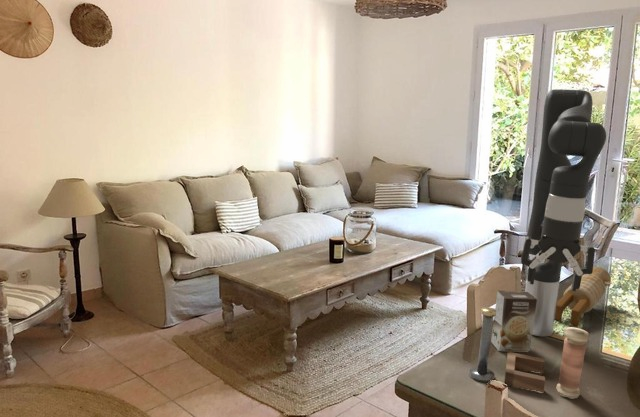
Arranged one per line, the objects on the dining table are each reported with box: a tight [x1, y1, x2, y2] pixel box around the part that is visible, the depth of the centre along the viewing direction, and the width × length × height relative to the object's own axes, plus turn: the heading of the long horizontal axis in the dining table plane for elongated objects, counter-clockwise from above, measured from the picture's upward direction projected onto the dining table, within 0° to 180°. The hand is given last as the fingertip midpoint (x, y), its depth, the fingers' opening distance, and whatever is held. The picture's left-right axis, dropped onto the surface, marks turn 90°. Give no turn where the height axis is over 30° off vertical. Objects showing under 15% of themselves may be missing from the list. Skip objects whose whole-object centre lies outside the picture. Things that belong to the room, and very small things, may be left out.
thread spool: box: [555, 326, 590, 397], centre depth 123 cm, size 5×5×16 cm
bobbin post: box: [469, 306, 496, 383], centre depth 129 cm, size 6×6×18 cm
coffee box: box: [490, 290, 537, 353], centre depth 146 cm, size 9×6×16 cm
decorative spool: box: [554, 266, 612, 327], centre depth 175 cm, size 10×12×30 cm
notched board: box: [503, 351, 546, 393], centre depth 130 cm, size 12×9×4 cm
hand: (552, 286), depth 113 cm, fingers open, 8 cm apart
